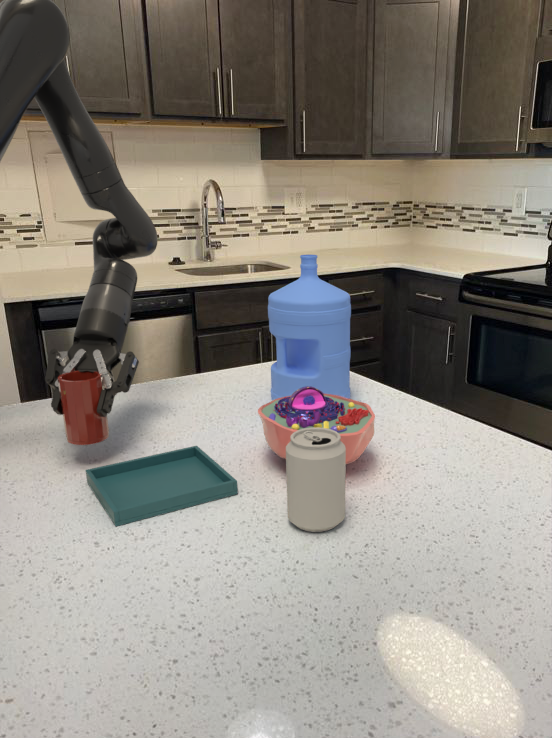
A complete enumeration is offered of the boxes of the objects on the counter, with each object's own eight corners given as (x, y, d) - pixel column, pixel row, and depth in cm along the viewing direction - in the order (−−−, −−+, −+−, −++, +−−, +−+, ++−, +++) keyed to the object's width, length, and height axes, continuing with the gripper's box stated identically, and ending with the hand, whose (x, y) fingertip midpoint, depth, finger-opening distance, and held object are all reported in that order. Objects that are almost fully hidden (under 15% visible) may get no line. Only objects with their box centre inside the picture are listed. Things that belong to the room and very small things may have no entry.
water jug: (320, 384, 141) (319, 248, 131) (366, 403, 129) (369, 256, 119) (256, 397, 133) (250, 254, 123) (298, 419, 121) (295, 263, 111)
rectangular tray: (115, 526, 85) (113, 512, 84) (87, 482, 97) (85, 469, 96) (238, 494, 93) (237, 480, 93) (197, 457, 105) (196, 445, 105)
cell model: (291, 498, 92) (289, 422, 88) (246, 447, 109) (243, 381, 105) (397, 476, 98) (400, 404, 94) (339, 431, 115) (339, 369, 111)
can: (317, 541, 81) (317, 451, 77) (275, 521, 86) (272, 435, 82) (357, 519, 86) (358, 433, 82) (314, 501, 91) (313, 419, 87)
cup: (72, 448, 99) (62, 384, 95) (63, 435, 104) (53, 373, 100) (113, 439, 102) (106, 377, 98) (103, 427, 107) (95, 367, 103)
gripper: (51, 305, 104) (22, 400, 97) (139, 307, 102) (115, 404, 95) (71, 331, 111) (46, 421, 104) (154, 333, 109) (133, 426, 102)
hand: (79, 413), depth 100 cm, fingers closed on cup, 6 cm apart
